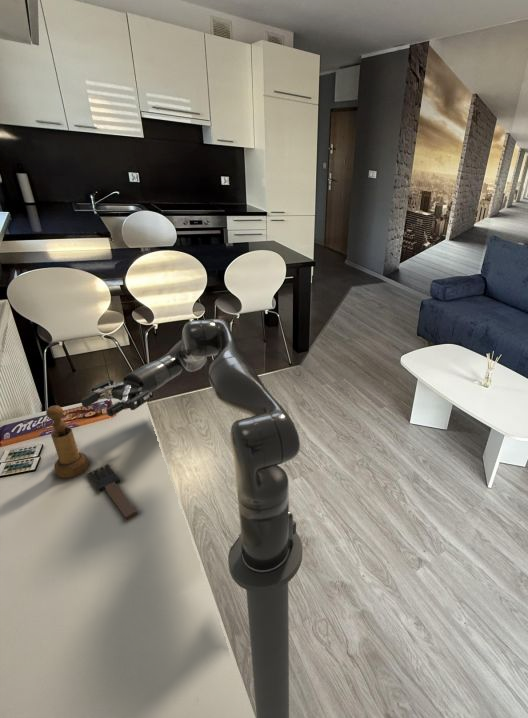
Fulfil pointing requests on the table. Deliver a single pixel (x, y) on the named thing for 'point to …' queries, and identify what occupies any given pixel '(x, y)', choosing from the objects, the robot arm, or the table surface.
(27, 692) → the table surface
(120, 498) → the brush with brown handle
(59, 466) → the mortar and pestle
